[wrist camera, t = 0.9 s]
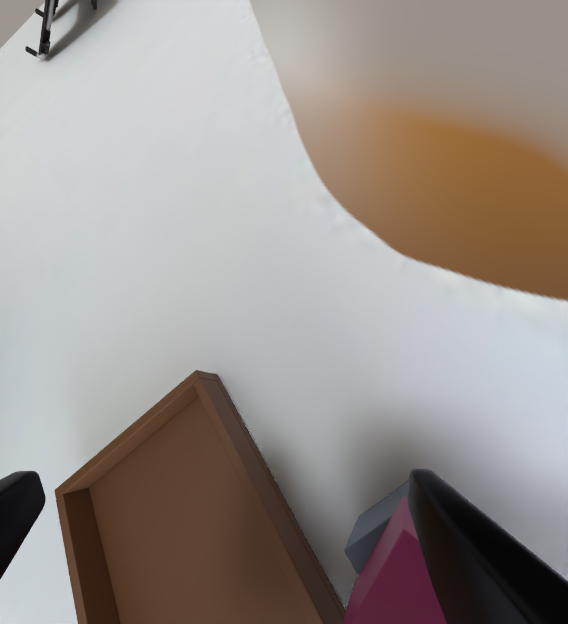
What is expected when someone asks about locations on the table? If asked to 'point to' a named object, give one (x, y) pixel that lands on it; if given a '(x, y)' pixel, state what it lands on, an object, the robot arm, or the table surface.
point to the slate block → (372, 528)
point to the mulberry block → (395, 579)
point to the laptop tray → (48, 27)
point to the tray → (188, 525)
